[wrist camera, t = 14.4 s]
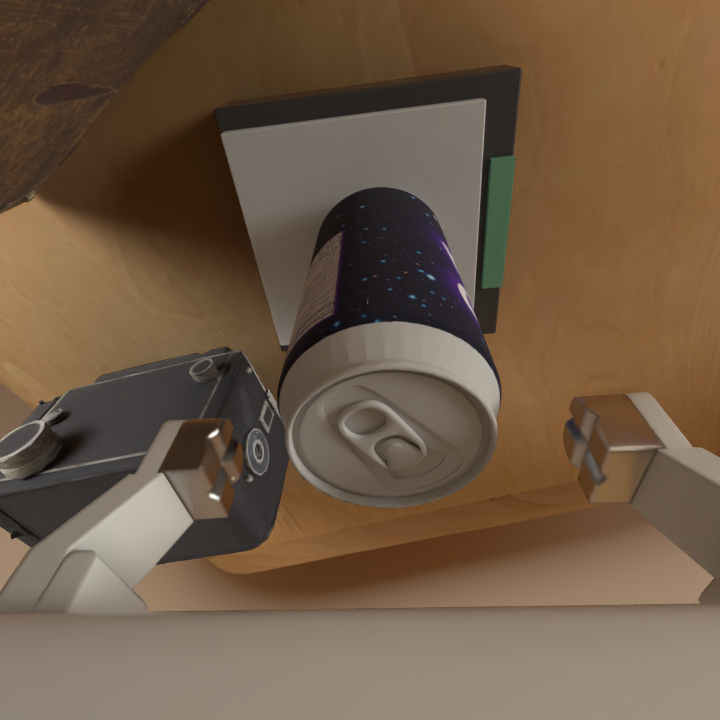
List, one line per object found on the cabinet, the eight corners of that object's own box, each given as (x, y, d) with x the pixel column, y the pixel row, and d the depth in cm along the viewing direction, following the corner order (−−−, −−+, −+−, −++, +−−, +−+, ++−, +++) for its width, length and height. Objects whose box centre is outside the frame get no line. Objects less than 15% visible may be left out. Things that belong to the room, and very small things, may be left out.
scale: (506, 64, 17) (527, 68, 15) (486, 311, 25) (498, 339, 22) (228, 102, 18) (207, 111, 16) (287, 328, 26) (279, 358, 23)
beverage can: (368, 319, 22) (368, 539, 12) (292, 235, 19) (215, 432, 9) (464, 255, 19) (557, 463, 10) (393, 150, 17) (427, 296, 7)
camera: (243, 288, 25) (30, 360, 27) (198, 417, 16) (-121, 515, 18) (308, 409, 31) (132, 462, 33) (304, 554, 22) (58, 617, 24)
